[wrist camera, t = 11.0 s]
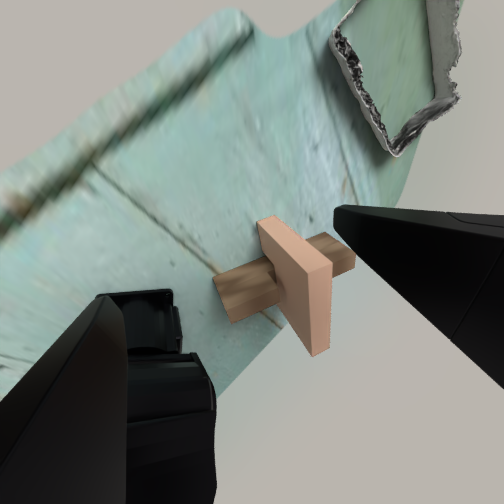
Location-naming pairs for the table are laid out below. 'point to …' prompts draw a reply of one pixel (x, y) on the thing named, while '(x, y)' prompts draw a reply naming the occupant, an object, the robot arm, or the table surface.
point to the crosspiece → (300, 282)
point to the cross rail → (271, 279)
